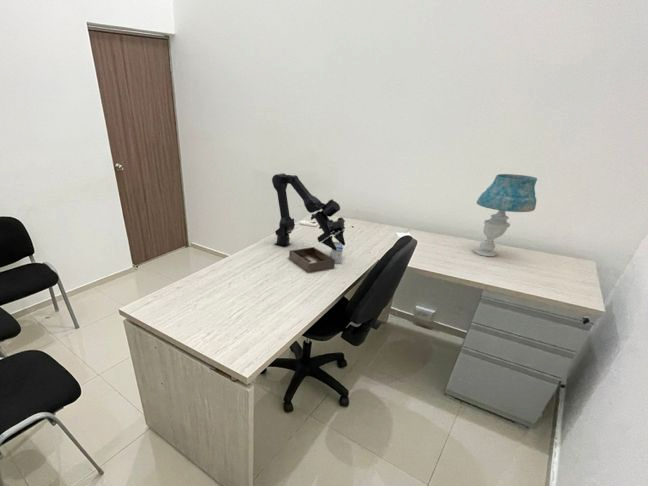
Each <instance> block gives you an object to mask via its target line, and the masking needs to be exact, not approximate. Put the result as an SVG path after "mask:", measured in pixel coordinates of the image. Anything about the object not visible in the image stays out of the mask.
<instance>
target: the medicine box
mask: <svg viewBox="0 0 648 486" xmlns="http://www.w3.org/2000/svg"><path fill="white" fill-rule="evenodd" d="M333 242H334V244H335V246H336V250H333V249H332V248H331V251H330V257H331V258H333V259H335V264H341V261H342V256H343V251H344V249H343V248H344V246H343V245H342V243H341V242H339V241H333Z"/></svg>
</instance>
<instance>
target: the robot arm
mask: <svg viewBox="0 0 648 486" xmlns="http://www.w3.org/2000/svg"><path fill="white" fill-rule="evenodd" d="M271 182H272V183H271V184H272V186H273V189H274V190H275V191H276V195H277V200H278V207H279V214H280V219H279V224H278V227H279V228H277V229H276V230H275V231H274V233H275V236H276V242H275V244H274V245H277V246H280V247H285V248H286V247H287V246H289V245H291V244H290V240H291V237H290V234H292V232H293V231H294V229H295V226H296V224H295V219H294V218H292V217H291V216H290V209H289V202H288V201H289V200H288V197H287V196H288V194H287V188H288V184H290V185H291V187H292V189H294V190H295V192H296V194H298V196H299V197H300V198H301V200H302V201H303V205H304V208H305V209H306V211H307V212H308V213H311V217H310V220H311V221H313V220H315V221H316V223H317V224H318V226H319V227H318V229H319V230H322V232H323V233H321V234H320V235H319V236H317V241H318V243H320V244H323V245H325V246H327V247H328V248H330V249H331V250H332V249H333V250H336V246H335V244H334V242H335V241H333V238H334V239H335V240H337V242H341V243H342V247H344V246H345V245H346V241H345V237H344V232H345V231H346V230H345V229H346V227H345V222H346V220H345V219H344V217H338V218H337V220H335V221H334V220H333V219H330V218H331V217H333V216H334V215H336V214H337V213H338V212H339V211H341V205H340V204H339V203H338V202H337V201H335V200H334V199H329V200H328V202H326V203H324V202H322V201H321V200H320V199H319V198H317V197H316V196H314V195H313V194H312V193H310V191H309V190H308V189H307V187H306V186H305V185H304V183H303V182H302V181H301V180H300V178H299V177H298V175H296V174H293V175H292V174H286V173H283V172H281V173H276V174H274V175H273V176H272V178H271Z"/></svg>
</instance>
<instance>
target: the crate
mask: <svg viewBox="0 0 648 486" xmlns="http://www.w3.org/2000/svg"><path fill="white" fill-rule="evenodd" d="M288 254H289V255H288V259H289V260H290V261H292V262H293V263H294V264H295V265H297V266H298V267H300V268H301V269H303V270H304V271H305V272H307V273H316V272H320V271H321V272H322V271H326V270H331V269H335V264H336V263H335V259H333V258H331V257H330V256H331V255H330V256H329V255H328V254H326V253H325V252H323V251H321V250H320V249H318V248H317V247H315V246H312V247H305V248H299V249H292V250H289V253H288ZM307 257H310V258H312V259H313V260H315V262H312V261H311V260H310V259H308V258H307Z"/></svg>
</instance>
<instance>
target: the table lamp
mask: <svg viewBox="0 0 648 486" xmlns="http://www.w3.org/2000/svg"><path fill="white" fill-rule="evenodd" d="M537 181H538V178H537V177H536V176H531V175H524V174H511V173H500V174H496V175H495V178H494V179H493V181H492V182H491V184H490V185H489V186H488V187H487V188H486V189H485V191H483V192H482V193H480V195H479V197H478V198H477V200H476V205H478V206H480V207H483V208H486V209H491V210H495V211H497V212H496V213H493V214H491V215H490V218H489V219H485V220H484V221H483V224H484V226H483V230H482V231H483V234H484V235H485V237H486V239H485V240H484V241H482V242H481V243H480V245H479V248H475V249H473V251H474V253H475V254H477V255H480V256H482V257H483V256H484V257H494V256H496V255H497V252H496V251H494V250H495V247H496V244H495V239H498V238H500V237H502V236H503V235H504V234H505V233H506V231H507V230H508V228H510V226H511V223H510V222H508V221H507V220H509V219H510V217H509V216H508V215H507V214H506V212H510V213H530V212H534V211H535V210H536V207H537V197H536V189H535V186H536V184H537Z"/></svg>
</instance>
